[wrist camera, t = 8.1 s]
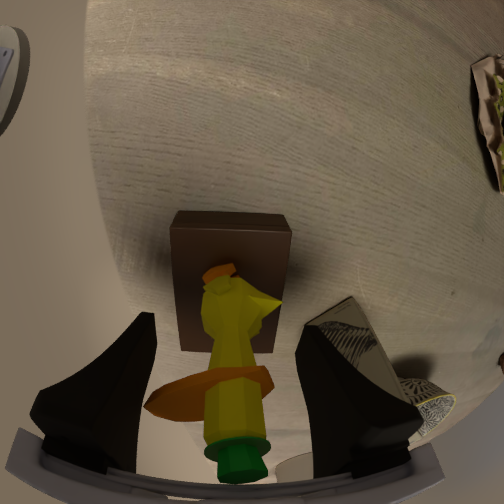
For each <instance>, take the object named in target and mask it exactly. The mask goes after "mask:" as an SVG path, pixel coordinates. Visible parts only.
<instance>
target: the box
mask: <svg viewBox="0 0 504 504" xmlns="http://www.w3.org/2000/svg"><path fill="white" fill-rule="evenodd" d="M307 325H317V326H318V327H319V329H320V330H321V331H322V332H323V333H324V334H325V336H326V337H327V338H328V339H329V340H330V342H331V343H332V344H333V345H334V346H335V347H336V348H337V350H338V351H339V352H340V353H341V354H342V355H343V356H344V357H345V358H346V359H347V360H348V361H349V362H350V363H351V364H352V365H353V366H354V367H355V368H356V369H357V370H358V371H359V372H361V373H362V374H363V375H364V376H365V377H367V378H368V379H369V380H370V381H372V382H373V383H374V384H376V385H377V386H379V387H380V388H382V389H383V390H385V391H386V392H388V393H390V394H392V395H393V396H395V397H397V398H399V399H401V400H403V401H405V402H407V403H409V402H408V399H407V397H406V395H405V393H404V391H403V388H402V386H401V384H400V382H399V380H398V378H397V376H396V374H395V371H394V369H393V367H392V365H391V363H390V361H389V359H388V357H387V355H386V353H385V351H384V349H383V347H382V345H381V343H380V342H379V340H378V338H377V336H376V334H375V332H374V330H373V329H372V327H371V325H370V323H369V322H368V320H367V318H366V316H365V314H364V313H363V311H362V310H361V308H360V307H359V305H358V304H357V302H356V301H355V299H354V298H350V299H348V300H346V301H345V302H343V303H341V304H340V305H338V306H336V307H335V308H333V309H331V310H329V311H328V312H326V313H324V314H323V315H321V316H319V317H318V318H316V319H315V320H313V321H311V322H310V323H308V324H307ZM421 438H423V434H422V432H421V429H419V430H418V431H417V432H416V433H415V434H413V435H412V436H411V437H410V438H409V439H408V440H409V443H410V445H411V444H413V443H415V442H417V441H419V440H420V439H421Z"/></svg>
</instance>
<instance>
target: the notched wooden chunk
mask: <svg viewBox="0 0 504 504" xmlns="http://www.w3.org/2000/svg"><path fill="white" fill-rule="evenodd" d="M500 366H501V369H502V371H503V374H504V355H502V356H501V357H500Z"/></svg>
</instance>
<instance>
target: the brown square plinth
mask: <svg viewBox="0 0 504 504" xmlns="http://www.w3.org/2000/svg"><path fill="white" fill-rule="evenodd" d="M291 237H292V231H291V229H290V227H289V225H288V223H287V221H286V219H285V217H284V215H277V214H258V213H236V212H209V211H178V213H177V215H176V217H175V219H174V220H173V222H172V224H171V226H170V246H171V261H172V274H173V286H174V296H175V306H176V315H177V323H178V331H179V339H180V346H181V351H189V352H209V353H212V349H213V345H214V341H215V339H213V338H212V337H211V336H210V335H209V334H207V333H206V332H205V331H204V327H203V321H202V316H201V308H202V300H203V294H204V293H205V292H206V291H205V290H204V288H203V286H205V285H206V284H205V282H204V280H203V279H202V277H203V275H204V274H205V273H206V272H207V271H208V270H209V269H211V268H213V267H216V266H221V265H225V264H230V263H233V265H234V267H235V269H236V272H234V273H233V274H232V275H231V276H230V277H233V276H236V275H239V277H240V278H242V279H243V280H245V281H246V282H247V283H249V284H250V285H252V286H253V287H254V288H256V289H257V290H258V291H260V292H262V293H265V294H267V295H269V296H271V297H273V298H275V299H278V300H280V301H282V296H283V290H284V284H285V278H286V271H287V265H288V258H289V251H290V244H291ZM280 308H281V304H280V305H279V306H278V307H277V308H275V309H274V310H273V311H272V312H270V313H269V314H268V315H267V316H265V317H264V318H263V319H262V328H261V329H260V330H259V334H257V335H255V336H254V337H253V338H251V339H250V343H251V347H252V351H253V353H273V348H274V343H275V337H276V332H277V326H278V320H279V314H280Z"/></svg>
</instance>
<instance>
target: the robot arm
mask: <svg viewBox="0 0 504 504" xmlns="http://www.w3.org/2000/svg"><path fill="white" fill-rule="evenodd" d="M6 53H7V54H6ZM13 54H14V50H13V49H10V48H5V47H0V87H1V84H2V81H3V79H4V76H5V73H6V71H7V68H8V66H9V64H10V61H11V59H12V57H13ZM156 348H157V336H156V327H155V317H154V313H148V312H141V313H140V314H139V315H138V316H137V317H136V319H135V320H134V321H133V322H132V323H131V325H130V326H129V327H128V328H127V329H126V330H125V331H124V332H123V333H122V335H120V337H119V338H118V339H117V340H116V341H115V342H114V343H113V344H112V345H111V346H110V347H109V348H108V349H106V350H105V351H104V352H103V353H102V354H101V355H100V356H99V357H97V358H96V359H95V360H94V361H93V362H91V363H90V364H89V365H87V366H86V367H84V368H83V369H81V370H80V371H78V372H77V373H75V374H74V375H72V376H70V377H68V378H67V379H65V380H63V381H61V382H59V383H57V384H55V385H52V386H50V387H48V388H45V389H43V390H40V392H39V393H38V395H37V397H36V399H35V401H34V404H33V406H32V409H31V411H30V417H31V419H32V420H33V421H34V423H35V424H36V425H37V426H38V428H40V430H41V431H42V432H43V433H44V434H45V438H44V440H43V439H41V438H40V437H38V436H36V435H34V434H32V433H30V432H28V431H26V430H24V429H22V428H18V431H17V434H16V436H15V439H14V442H13V445H12V448H11V451H10V454H9V457H8V460H7V463H6V466H5V469H6V470H7V471H8V472H10V473H11V474H13V475H14V476H16V477H17V478H19V479H20V480H22V481H23V482H25V483H27V484H29V485H30V486H32V487H33V488H35V489H37V490H39V491H41V492H43V493H45V494H47V495H49V496H51V497H54V498H56V499H58V500H60V501H62V502H65V503H67V504H398V503H400V502H402V501H405V500H407V499H409V498H411V497H414V496H416V495H418V494H420V493H421V492H423V491H425V490H427V489H429V488H431V487H432V486H434V485H436V484H438V483H439V482H441V481H443V480H444V479H445V476H444V473H443V471H442V468H441V466H440V464H439V461H438V459H437V457H436V454H435V452H434V449H433V447H432V445H431V443H427V444H424V445H422V446H419V447H417V448H414V449H412V450H410V451H408V448H407V447H408V446H410V443H409V440H408V439H409V438H410V437H411V436H412V435H413V434H415V433H416V432H417V431H418V430H419V429H420V428H421V427H422V425H423V423H424V420H423V417H422V415H421V413H420V411H419V409H418V407H417V406H414V405H412V404H410V403H407V402H405V401H403V400H401V399H399V398H397V397H395V396H393V395H392V394H390V393H388V392H386V391H385V390H383V389H382V388H380V387H379V386H377V385H376V384H374V383H373V382H372V381H370V380H369V379H368V378H367V377H365V376H364V375H363V374H362V373H361V372H359V371H358V370H357V369H356V368H355V367H354V366H353V365H352V364H351V363H350V362H349V361H348V360H347V359H346V358H345V357H344V356H343V355H342V354H341V353H340V352H339V351H338V350H337V348H336V347H335V346H334V345H333V344H332V343H331V342H330V340H329V339H328V338H327V337H326V336H325V334H324V333H323V332H322V331H321V330H320V329H319V327H318V326H317V325H305V326H304V329H303V332H302V335H301V338H300V341H299V343H298V346H297V349H296V352H295V358H296V366H297V372H298V376H299V380H300V384H301V387H302V391H303V395H304V398H305V402H306V406H307V410H308V415H309V423H310V430H311V440H312V453H313V479H310V480H302V481H294V482H284V483H271V484H246V485H232V484H206V483H193V482H184V481H175V480H168V479H162V478H156V477H149V476H145V475H140V474H136V457H137V456H136V455H137V442H138V429H139V422H140V415H141V407H142V403H143V398H144V395H145V391H146V388H147V384H148V381H149V378H150V374H151V371H152V367H153V364H154V360H155V354H156ZM165 495H167V496H174V497H182V498H193V499H204V500H199V501H187V500H172V499H168V497H167V496H165ZM298 496H301V497H298Z"/></svg>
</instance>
